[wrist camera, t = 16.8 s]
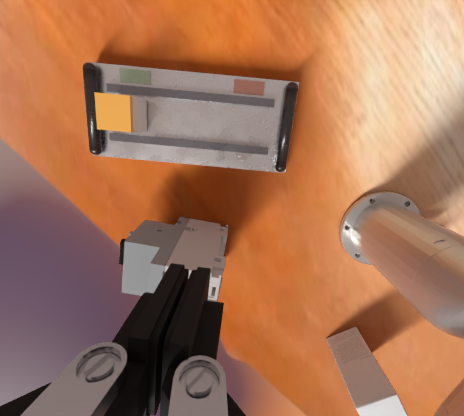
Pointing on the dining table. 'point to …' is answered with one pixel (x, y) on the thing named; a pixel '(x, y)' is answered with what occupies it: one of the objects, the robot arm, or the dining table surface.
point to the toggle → (120, 113)
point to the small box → (364, 376)
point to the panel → (196, 117)
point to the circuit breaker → (172, 253)
